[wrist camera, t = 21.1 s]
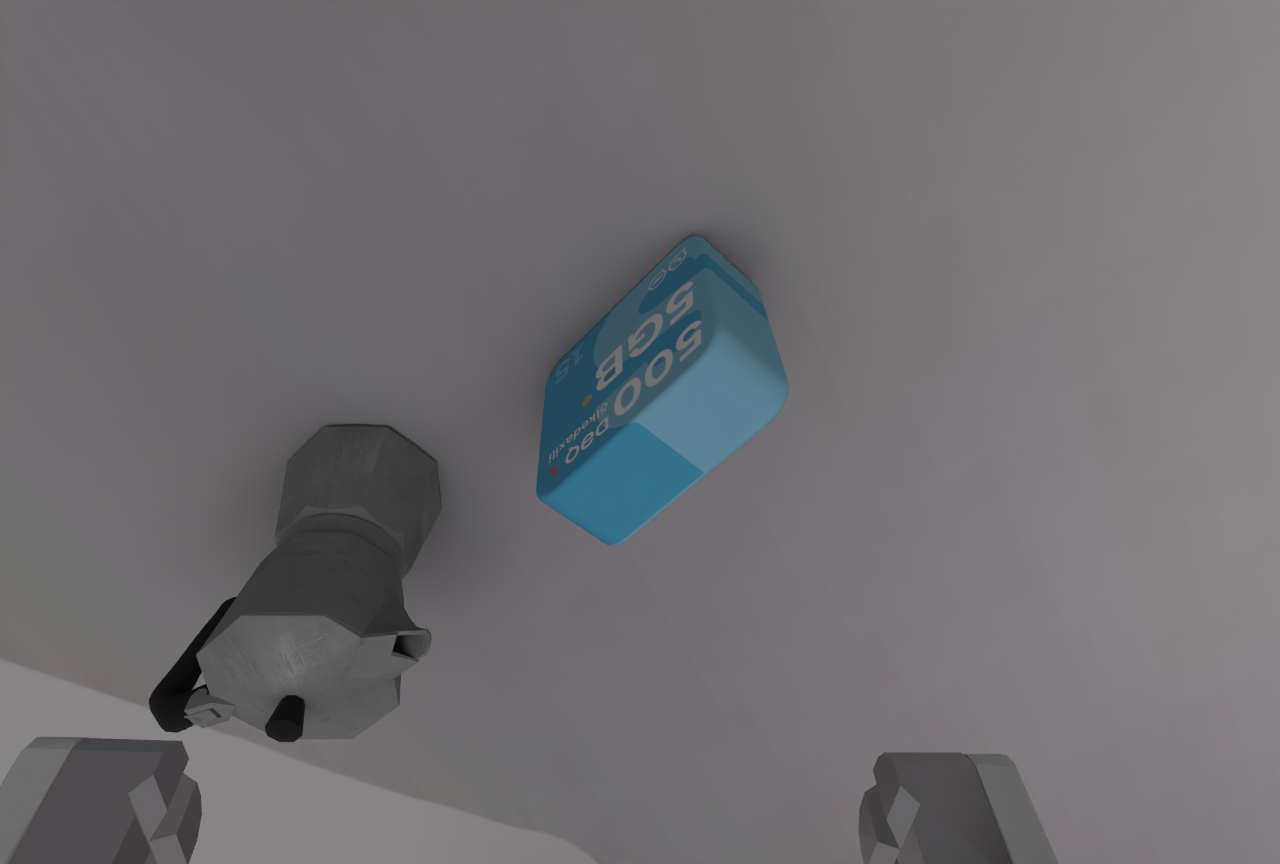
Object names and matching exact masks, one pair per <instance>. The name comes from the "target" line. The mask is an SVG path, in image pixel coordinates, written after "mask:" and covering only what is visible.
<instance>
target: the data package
mask: <svg viewBox="0 0 1280 864" xmlns="http://www.w3.org/2000/svg"><path fill="white" fill-rule="evenodd" d="M787 394H788V380H787V377H786V374H785V371H784V368H783V364H782V361H781V358H780V355H779V352H778V349H777V346H776V342H775V339H774V336H773V333H772V330H771V327H770V323H769V320H768V317H767V314H766V311H765V308H764V305H763V301H762V298H761V295H760V292H759V290H758V288H757V287H756V286H755V285H754V284H753V283H752V282H751V281H749V280H748V279H747V278H746V277H745V276H744V275H743V274H742V273H741V272H740V271H738V270H737V269H736V268H735V267H734V266H733V265H732V264H731V263H730V262H729V261H727V260H726V259H725V258H724V257H723V256H722V255H721V254H720V253H719V252H718V251H716V250H715V249H714V248H713V247H712V246H711V245H710V244H709V243H708V242H707V241H706V240H704V239H703V238H702V237H700V236H692V237H690V238H688V239H686V240H684V241H683V242H681V243H680V244H679V245H678V246H677V247H676V248H674V249H673V250H672V251H671V252H670V253H669V254H668V255H667V256H666V257H665V258H664V259H663V260H662V261H661V262H660V263H659V264H658V265H657V266H656V267H655V268H654V269H653V270H652V271H651V272H650V273H649V274H648V275H647V276H646V277H645V278H644V279H643V280H642V281H641V282H640V283H639V284H638V285H637V286H636V287H635V288H634V289H633V290H632V291H631V292H630V293H629V294H628V295H627V296H626V297H625V298H624V299H622V300H621V301H620V302H619V303H618V304H617V305H616V306H615V307H614V308H613V309H612V310H611V311H610V312H609V313H608V314H607V315H606V316H605V317H604V318H603V319H602V320H601V321H600V322H599V323H598V324H597V325H596V326H595V327H594V328H593V329H592V330H591V331H590V332H589V333H588V334H587V335H586V336H585V337H584V338H583V339H582V340H581V341H580V342H579V343H578V344H577V345H576V346H575V347H574V348H573V349H572V350H571V351H570V352H569V353H568V354H566V355H565V356H564V358H563V359H562V360H561V361H560V362H559V363H558V364H557V366H556V367H555V369H554V370H553V372H552V373H551V375H550V377H549V379H548V382H547V385H546V390H545V400H544V411H543V422H542V433H541V444H540V455H539V465H538V476H537V487H536V492H537V496H538V498H539V499H540V500H541V501H542V502H544V503H545V504H547V505H548V506H550V507H551V508H553V509H554V510H556V511H557V512H559V513H560V514H562V515H563V516H565V517H566V518H567V519H569V520H570V521H572V522H573V523H575V524H576V525H578V526H579V527H581V528H582V529H584V530H585V531H587V532H588V533H590V534H591V535H593V536H594V537H596V538H597V539H599V540H600V541H602V542H603V543H605V544H606V545H609V546H616V545H619V544H622V543H624V542H625V541H627V540H628V539H629V538H631V537H632V536H633V535H634V534H635V533H637V532H638V531H639V530H640V529H641V528H643V527H644V526H645V525H646V524H648V523H649V522H650V521H651V520H652V519H654V518H655V517H656V516H657V515H658V514H660V513H661V512H662V511H663V510H664V509H666V508H667V507H668V506H669V505H671V504H672V503H673V502H674V501H675V500H677V499H678V498H679V497H680V496H681V495H683V494H684V493H685V492H686V491H688V490H689V489H690V488H691V487H692V486H694V485H695V484H696V483H697V482H698V481H700V480H701V479H702V478H703V477H705V476H706V475H707V474H708V473H709V472H711V471H712V470H713V469H714V468H715V467H717V466H718V465H719V464H720V463H722V462H723V461H724V460H725V459H726V458H728V457H729V456H730V455H731V454H732V453H734V452H735V451H736V450H737V449H738V448H740V447H741V446H742V445H743V444H745V443H746V442H747V441H748V440H749V439H751V438H752V437H753V436H754V435H755V434H757V433H758V432H759V431H760V430H762V429H763V428H764V427H765V426H766V425H767V424H769V423H770V422H771V421H772V420H773V419H774V417H775V416H776V415H777V414H778V412H779V411H780V409H781V408H782V406H783V404H784V402H785V400H786V397H787Z"/></svg>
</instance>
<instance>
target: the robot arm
mask: <svg viewBox="0 0 1280 864" xmlns="http://www.w3.org/2000/svg"><path fill="white" fill-rule="evenodd" d="M188 760H189V758H188V755H187V753H186V750H185V748H184V745H183V743H182V741H165V740H132V739H99V738H84V737H81V738H80V737H36V738H35V739H34V740H33V741H32V742H31V743H30V744H29V745H28V746H27V747H26V748H24V749H23V751H21V753H20V755H19V756H18V758H17V759H16V761H15V763H14V764H13V766H12V768H11V769H10V771H9V773H8V774H7V776H6V778H5V779H4V781H3V783H2V784H1V786H0V864H189V861H190V858H191V855H192V853H193V850H194V847H195V845H196V842H197V837H198V832H199V827H200V821H201V815H202V808H201V794H200V791H199V788H198V784H197V782H196V781H194V780H193V779H191V778H190V777H188V776H187V775H185V774H184V773H183V772H184V769H185V767H186V765H187V762H188ZM873 772H874V775H875V779H876V783H877V784H876V785H875V786H873V787H872V788H870V789H869V790H867V791H866V792H865V793H864V796H863V800H862V803H861V806H860V809H859V839H860V847H861V853H862V857H863V862H864V864H1058V861H1057V859H1056V857H1055V854H1054V852H1053V850H1052V848H1051V845H1050V843H1049V841H1048V838H1047V836H1046V834H1045V832H1044V829H1043V827H1042V825H1041V822H1040V820H1039V818H1038V815H1037V813H1036V811H1035V809H1034V806H1033V804H1032V802H1031V799H1030V797H1029V795H1028V793H1027V790H1026V788H1025V786H1024V783H1023V781H1022V779H1021V777H1020V774H1019V772H1018V770H1017V767H1016V765H1015V763H1014V762H1013V761H1012V760H1011V759H1010V758H1009V757H1008V756H1007V755H1003V754H962V753H959V752H884V753H883V754H882V755H880V756H879V757H878V759H877V761H876V764H875V766H874V769H873Z"/></svg>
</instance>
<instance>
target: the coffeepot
mask: <svg viewBox="0 0 1280 864" xmlns="http://www.w3.org/2000/svg"><path fill="white" fill-rule="evenodd" d="M440 510H441V503H440V490H439V480H438V476H437V468H436V462H435V461H434V460H432V459H431V458H430V457H429V456H428V455H427V454H426V453H425V452H424V451H422V450H421V449H420V448H419V447H418V446H417V445H416V444H414V443H413V442H412V441H410V440H409V439H407V438H405V437H404V436H402V435H400V434H398V433H396V432H393V431H392V430H391V429H389V428H388V427H382V426H374V425H364V424H349V425H341V426H337V427H324V428H323V429H322V430H320V431H319V432H318V433H317V434H316V435H315V436H314V437H312V438H311V439H310V440H308V441H307V442H306V444H305V445H304V446H303V447H302V449H300V450H299V451H298V452H297V453H296V454H295V455H294V456H293V457H292V458H291V459H290V460H289V461H288V464H287V470H286V475H285V481H284V487H283V493H282V499H281V505H280V510H279V516H278V522H277V528H276V544H277V548H275V549H274V550H273V551H272V552H271V553H270V554H269V555H268V556H267V557H266V558H265V559H264V560H263V561H262V562H261V563H260V565H259V566H258V567H257V569H256V570H255V572H254V573H253V575H252V576H251V577H250V579H249V580H248V582H247V583H246V585H245V586H244V588H243V589H242V590H241V592H240V593H239V595H238V596H237V597H233V598H231V599H228V600H226V601H225V602H224V603H223V604H222V605H221V606H220V608H219V609H218V610H217V612H216V613H215V614H214V615H213V617H212V618H211V619H210V620H209V621H208V623H207V624H206V625H205V626H204V628H203V629H202V630H201V631H200V633H199V634H198V635H197V636H196V637H195V639H194V640H193V641H192V643H191V644H190V645H189V647H188V648H187V649H186V651H185V652H184V653H183V655H182V656H181V657H180V659H179V660H178V661H177V662H176V664H175V665H174V666H173V667H172V669H171V670H170V671H169V672H168V674H167V675H166V676H165V677H164V678H163V679H162V681H161V682H160V683H159V684H158V686H157V687H156V688H155V690H154V691H153V693H152V695H151V697H150V698H149V706H150V710H151V712H152V714H153V715H154V717H155V718H156V720H157V722H158V724H159V725H160V727H161V728H162V729H164V731H166V732H180V731H182V730H185V729H187V728H189V727H191V726H193V725H197V724H198V725H199V726H200V727H201V728H205V727H208V726H211V725H215V724H218V723H222V722H225V721H228V720H229V719H230V717H231V715H232V716H234V717H236V718H238V719H240V720H242V721H244V722H246V723H248V724H250V725H252V726H254V727H256V728H258V729H260V730H262V731H264V732H266V733H267V736H269V737H271V738H273V739H275V740H277V741H279V742H294V741H296V740H297V739H353V738H355V737H356V736H357V735H359V734H360V733H362V732H363V731H364V730H366V729H367V728H368V727H370V726H371V725H373V724H374V723H375V722H377V721H378V720H379V719H381V718H382V717H384V716H385V715H386V714H388V713H389V712H390V711H392V710H393V709H395V708H396V707H397V706H399V702H400V682H401V673H403V672H404V671H405V670H407V669H408V668H410V667H411V666H413V665H414V664H415V663H417V662H418V661H419V660H418V659H420V658H421V657H423V656H425V655H426V654H427V652H428V650H429V647H430V644H431V633H430V632H429V630H428V629H422V628H418V627H416V625H415V624H414V623H413V622H412V620H411V619H410V618H409V616H408V614H407V612H406V611H405V609H404V598H403V589H402V582H401V580H402V579H403V578H404V577H405V576H406V575H407V574H408V573H409V571H410V569H411V567H412V565H413V563H414V561H415V559H416V557H417V555H418V553H419V551H420V549H421V547H422V545H423V544H424V542H425V540H426V538H427V536H428V534H429V532H430V530H431V528H432V526H433V524H434V522H435V520H436V518H437V516H438V514H439V512H440ZM201 672H202V673H203V676H204V679H205V682H206V684H205V685H202V686H200V687H198V688H196V689H193V687H194V686H195V684H196V682H197V680H198V678H199V676H200V674H201ZM192 689H193V690H192Z"/></svg>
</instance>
